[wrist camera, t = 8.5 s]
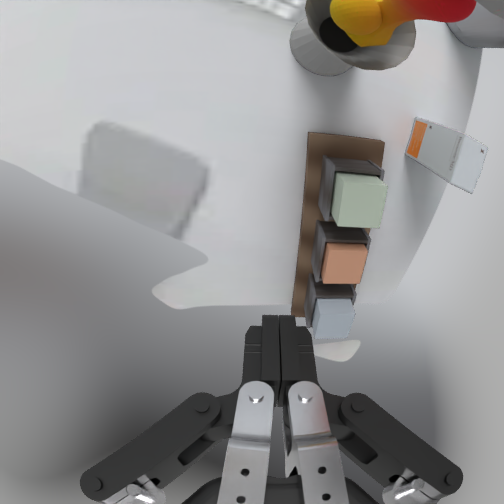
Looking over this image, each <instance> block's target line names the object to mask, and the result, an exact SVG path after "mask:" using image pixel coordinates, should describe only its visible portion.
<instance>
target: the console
mask: <svg viewBox="0 0 504 504" xmlns="http://www.w3.org/2000/svg"><path fill="white" fill-rule="evenodd" d="M384 145H385V142H383V141H381V140H375V139H368V138H361V137H353V136H345V135H336V134H325V133H314V132H308V142H307V158H306V172H305V185H304V197H303V208H302V219H301V229H300V239H299V249H298V258H297V267H296V275H295V284H294V292H293V300H292V307H291V315H295V317H305V318H306V325H307V328H310V327H313V326H312V320H311V318H312V313H313V308H314V303H315V298H350V299H351V302H352V305H354V302H355V298H356V295H357V294H356V292H355V288H356V284H323V280H322V276H321V273H320V271H321V265H322V259H323V253H324V247H325V242H339V243H364V245H365V247H366V249H367V251H368V250H369V246H370V242H371V239H370V237H369V232H370V228H361V227H341V226H337V224H336V222H335V220H334V218H333V216H332V214H331V212H330V205H331V198H332V190H333V181H334V172H335V171H345V172H355V173H365V174H374V175H376V176H377V177H378V178H379V179H380V180H381V181H383V177H384V170H383V169H382V168H381V167H382V160H383V153H384ZM367 254H368V253H367ZM366 258H367V257H366ZM365 262H366V261H365ZM364 266H365V265H364ZM363 270H364V269H363ZM362 274H363V273H362ZM361 277H362V276H361ZM360 281H361V280H360Z"/></svg>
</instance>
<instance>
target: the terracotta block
mask: <svg viewBox="0 0 504 504" xmlns="http://www.w3.org/2000/svg"><path fill="white" fill-rule="evenodd" d="M367 253H368V251H367V249H366V247H365V245H364V243H339V242H325V247H324V253H323V259H322V265H321V271H320V273H321V276H322V280H323V284H359V283H360V280H361V276H362V273H363V269H364V265H365V261H366V257H367Z"/></svg>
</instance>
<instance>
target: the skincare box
mask: <svg viewBox="0 0 504 504" xmlns="http://www.w3.org/2000/svg"><path fill="white" fill-rule="evenodd" d="M487 150H488V147H487V146H485V145H484V144H482V143H480V142H478V141H477V140H475V139H474V138H472V137H470V136H469V135H467V134H465V133H463V132H460V131H457V130H455V129H452V128H449V127H446V126H443V125H441V124H438V123H435V122H432V121H428V120H425V119H422V118H419V117H416V118H415V122H414V126H413V129H412V133H411V137H410V140H409V143H408V146H407V149H406V152H405V155H407V156H408V157H410V158H412V159H413V160H415V161H417V162H418V163H420V164H422V165H423V166H425V167H426V168H428V169H429V170H431V171H432V172H434V173H435V174H437V175H438V176H440V177H441V178H443V179H444V180H446V181H447V182H448V183H450V184H452V185H454V186H456V187H458V188H460V189H462V190H464V191H466V192H468V193H471V194H472V193H473V190H474V188H475V185H476V183H477V180H478V178H479V176H480V174H481V170H482V167H483V163H484V160H485V156H486V153H487Z"/></svg>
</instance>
